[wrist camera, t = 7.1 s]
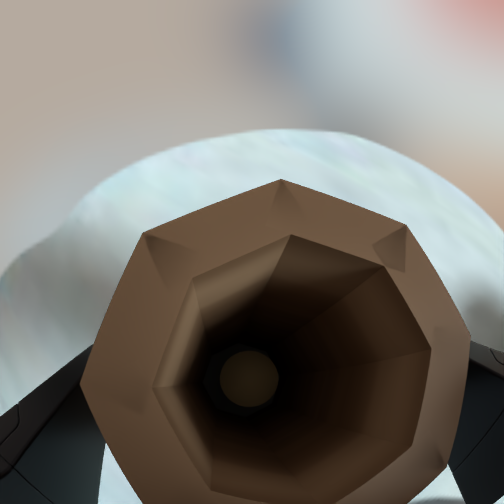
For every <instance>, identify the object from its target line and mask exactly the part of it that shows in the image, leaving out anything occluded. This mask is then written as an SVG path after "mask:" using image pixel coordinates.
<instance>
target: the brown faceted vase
mask: <svg viewBox="0 0 504 504" xmlns="http://www.w3.org/2000/svg"><path fill="white" fill-rule="evenodd" d="M470 339H471V335H470V333H469V331H468V329H467V327H466V325H465V323H464V321H463V319H462V317H461V315H460V313H459V311H458V309H457V308H456V306H455V304H454V302H453V300H452V298H451V296H450V295H449V293H448V291H447V289H446V287H445V286H444V284H443V282H442V280H441V279H440V277H439V275H438V274H437V272H436V270H435V269H434V267H433V265H432V264H431V262H430V260H429V259H428V257H427V256H426V254H425V252H424V251H423V249H422V248H421V246H420V245H419V243H418V242H417V240H416V239H415V237H414V236H413V234H412V233H411V231H410V230H409V228H408V227H407V225H405V224H403V223H400V222H398V221H395V220H393V219H391V218H388V217H386V216H383V215H381V214H378V213H375V212H373V211H370V210H368V209H365V208H362V207H360V206H357V205H355V204H352V203H349V202H346V201H344V200H341V199H338V198H335V197H333V196H330V195H327V194H324V193H321V192H318V191H315V190H313V189H310V188H307V187H304V186H301V185H298V184H295V183H292V182H288V181H285V180H282V179H280V180H277V181H274V182H271V183H268V184H266V185H263V186H260V187H257V188H255V189H252V190H249V191H246V192H244V193H241V194H238V195H236V196H233V197H230V198H228V199H225V200H222V201H220V202H217V203H215V204H212V205H209V206H207V207H204V208H202V209H199V210H197V211H194V212H192V213H189V214H187V215H184V216H182V217H179V218H177V219H174V220H172V221H170V222H167V223H165V224H162V225H160V226H158V227H155V228H153V229H150V230H148V231H146V232H143V233H142V235H141V237H140V239H139V241H138V243H137V245H136V247H135V249H134V251H133V254H132V256H131V258H130V260H129V262H128V264H127V266H126V268H125V271H124V273H123V275H122V277H121V279H120V282H119V284H118V286H117V288H116V291H115V293H114V295H113V297H112V300H111V302H110V305H109V307H108V309H107V312H106V314H105V317H104V319H103V322H102V324H101V327H100V329H99V332H98V334H97V337H96V339H95V342H94V345H93V347H92V350H91V353H90V356H89V358H88V361H87V364H86V367H85V370H84V373H83V376H82V379H81V382H80V386H81V388H82V391H83V393H84V396H85V398H86V400H87V403H88V405H89V407H90V410H91V412H92V414H93V416H94V419H95V421H96V423H97V425H98V427H99V429H100V431H101V433H102V435H103V437H104V439H105V441H106V443H107V445H108V447H109V449H110V451H111V452H112V454H113V456H114V458H115V460H116V461H117V463H118V465H119V467H120V468H121V470H122V472H123V474H124V475H125V477H126V478H127V480H128V482H129V483H130V485H131V486H132V488H133V490H134V491H135V493H136V494H137V496H138V497H139V499H140V500H141V502H142V503H143V504H407V503H408V502H410V501H411V500H412V499H413V498H414V497H415V496H417V495H418V494H419V493H420V492H421V491H422V490H423V489H425V488H426V487H427V486H428V485H429V484H430V483H431V482H432V481H433V480H434V479H435V478H436V477H437V476H438V475H439V474H440V473H441V472H442V471H443V470H444V469H445V468H446V467H447V464H448V460H449V457H450V454H451V450H452V447H453V443H454V439H455V435H456V431H457V427H458V422H459V418H460V413H461V408H462V402H463V397H464V391H465V385H466V378H467V370H468V361H469V351H470ZM237 343H240V344H244V345H247V346H250V347H253V348H256V349H260V350H263V351H266V352H267V354H268V356H269V357H270V359H271V361H272V362H273V363H274V365H275V367H276V369H277V372H278V373H279V375H280V378H279V382H278V386H277V389H276V392H275V395H274V398H273V401H272V404H270V405H268V406H266V407H264V408H262V409H260V410H259V411H257V412H255V413H253V414H251V415H249V416H247V417H243V416H240V415H236V414H233V413H229V412H226V411H223V410H220V409H217V408H216V407H215V405H214V403H213V401H212V399H211V398H210V396H209V394H208V392H207V390H206V388H205V386H204V384H203V380H204V377H205V374H206V371H207V368H208V365H209V362H210V359H211V356H212V355H214V354H216V353H218V352H220V351H222V350H224V349H227V348H229V347H231V346H233V345H235V344H237Z"/></svg>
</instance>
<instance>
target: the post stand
mask: <svg viewBox="0 0 504 504" xmlns="http://www.w3.org/2000/svg"><path fill="white" fill-rule="evenodd" d="M279 378H280V375H279V373H278V372H277V369H276V367H275V365H274V363H273V362H272V361H271V359H270V357H269V356H268V354H267V352H266V351H263V350H260V349H256V348H253V347H250V346H247V345H244V344H240V343H237V344H235V345H233V346H231V347H229V348H227V349H224V350H222V351H220V352H218V353H216V354H214V355H212V356H211V359H210V362H209V365H208V368H207V371H206V374H205V377H204V380H203V384H204V386H205V388H206V390H207V392H208V394H209V396H210V398H211V399H212V401H213V403H214V405H215V407H216V408H217V409H220V410H223V411H226V412H229V413H233V414H236V415H240V416H243V417H247V416H249V415H251V414H253V413H255V412H257V411H259V410H260V409H262V408H264V407H266V406H268V405H270V404H272V401H273V398H274V395H275V392H276V389H277V386H278V382H279Z"/></svg>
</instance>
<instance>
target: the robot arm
mask: <svg viewBox="0 0 504 504" xmlns="http://www.w3.org/2000/svg"><path fill="white" fill-rule="evenodd" d="M93 345H94V344H92V345H91V346H89V347H88V348H87V349H86V350H84V351H83V352H82V353H80V354H79V355H78V356H77V357H75V358H74V359H73V360H71V361H70V362H69V363H68V364H66V365H65V366H64V367H62V368H61V369H60V370H59V371H57V372H56V373H55V374H53V375H52V376H51V377H50V378H48V379H47V380H46V381H45V382H43V383H42V384H41V385H39V386H38V387H37V388H36V389H34V390H33V391H32V392H31V393H29V394H28V395H27V396H26V397H24V398H23V399H22V400H21V401H19V402H18V404H16V405H14V406H13V407H12V408H11V409H9V410H8V411H7V412H6V413H4V414H3V415H2V416H0V504H98V496H99V486H100V478H101V470H102V463H103V456H104V450H105V444H106V441H105V439H104V437H103V435H102V433H101V431H100V429H99V427H98V425H97V423H96V421H95V419H94V416H93V414H92V412H91V410H90V407H89V405H88V403H87V400H86V398H85V396H84V393H83V391H82V388H81V386H80V382H81V379H82V376H83V373H84V370H85V367H86V364H87V361H88V358H89V356H90V353H91V350H92V347H93ZM448 465H449V467H450V470H451V472H452V474H453V476H454V479H455V481H456V483H457V485H458V487H459V490H460V492H461V494H462V497H463V499H464V501H465V504H494V503H495V502H496V501H497V500H499V499H500V498H501V497H502V496H504V353H502V352H499V351H497V350H494V349H491V348H490V349H489V348H488V347H486V346H483V345H481V344H478V343H475V342H473V341H470V351H469V361H468V370H467V378H466V385H465V391H464V397H463V402H462V408H461V413H460V418H459V422H458V427H457V431H456V435H455V439H454V443H453V447H452V450H451V454H450V457H449V460H448Z"/></svg>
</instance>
